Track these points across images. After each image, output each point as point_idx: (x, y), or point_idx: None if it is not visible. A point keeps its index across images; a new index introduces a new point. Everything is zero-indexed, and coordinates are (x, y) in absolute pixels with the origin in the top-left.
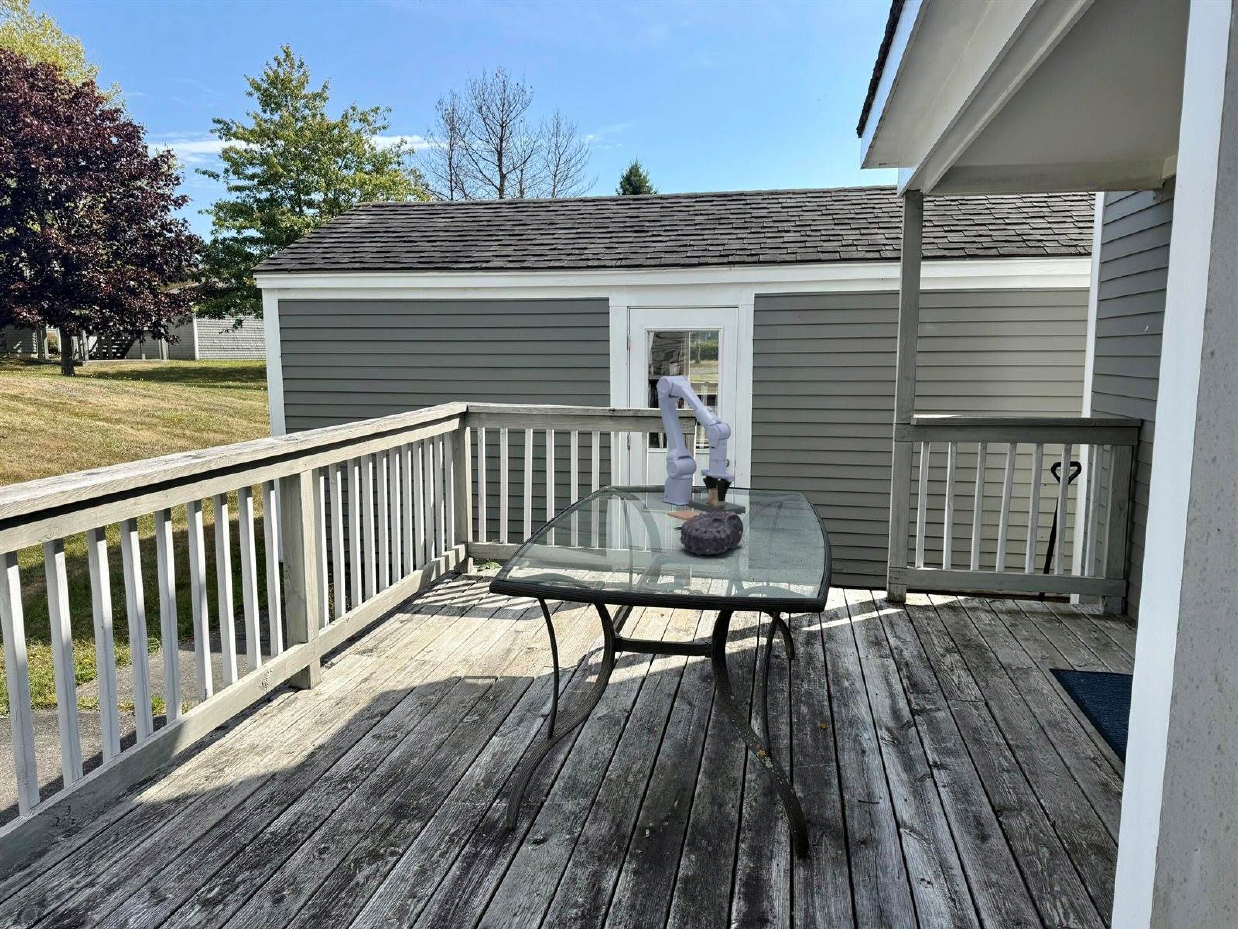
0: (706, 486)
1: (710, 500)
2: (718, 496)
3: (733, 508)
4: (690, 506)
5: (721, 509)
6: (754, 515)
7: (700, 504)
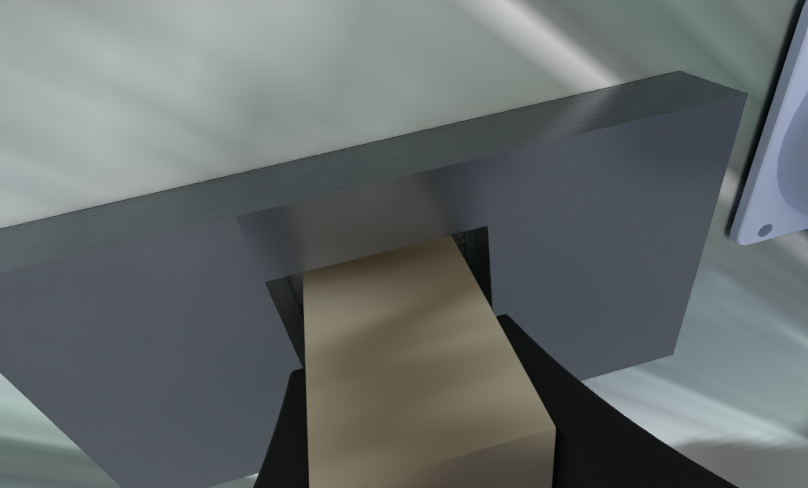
0: (652, 450)
1: (430, 296)
2: (303, 421)
3: (43, 404)
4: (655, 82)
5: (19, 265)
6: (49, 476)
7: (494, 149)
